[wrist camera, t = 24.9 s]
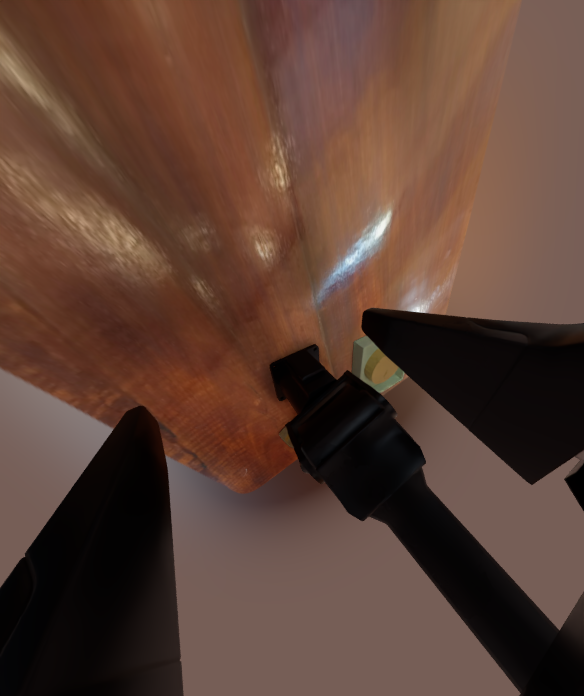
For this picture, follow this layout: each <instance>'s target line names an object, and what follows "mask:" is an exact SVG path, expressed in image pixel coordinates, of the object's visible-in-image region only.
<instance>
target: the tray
mask: <svg viewBox="0 0 584 696" xmlns="http://www.w3.org/2000/svg"><path fill="white" fill-rule="evenodd" d="M377 349H378V347H377V346H376V345H375V344H374V343H373V342H372V341H371V340H370V339H369V337H368V336H365V337H363V338H360V339H358V340H356V341H354V349H353V362H352V373H353V374H354V375H355V376H357V377H358V378H360V379H361V380H363V381H364V382H365V383H367V384H368V385H370V386H371V387H373V388H374V389H375V390H376V391H378V392H379V393H381V392H383V391H385V390H386V389H388V388H390V387H391V386H393V385H395V384H396V383H398V382H400V381H401V380H403V376H404V372H403V371H402V370H401V369H400V368H398V369H397V371H396V372H395V373H394V374H393V375H392V376H391V377H390V378H389V379H388V380H386V381H385V382H383V383H380V384H375V383H373V382H372V381H370V380H369V379H368V378H366V376H365V373H364V369H365V365H366V363H367V361H368V359H369V358H370V357H371V355H372V354H373V353H374V352H375V351H376V350H377Z"/></svg>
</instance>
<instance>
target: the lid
mask: <svg viewBox="0 0 584 696" xmlns="http://www.w3.org/2000/svg"><path fill="white" fill-rule="evenodd" d="M398 368H399V367H398V366H397V365H395V364H394V363H393V362H392V361H391V360H390V359H389V358H388V357H387V356H385V355H384V354H383V353H382V352H381V350H380V349H379V348H378V349H377V350H376V351H375V352H374V353H373V354H372V355H371V357H370V358H369V359H368V361H367V363H366V365H365V369H364V373H365V376H366V378H368V379H369V380H370V381H372V382H373V383H375V384H380V383H383V382H385V381H386V380H388V379H389V378H390V377H391V376H392V375H393V374H394V373H395V372H396V371H397V369H398Z"/></svg>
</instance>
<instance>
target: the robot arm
mask: <svg viewBox="0 0 584 696" xmlns="http://www.w3.org/2000/svg"><path fill="white" fill-rule="evenodd" d="M361 327H362V330H363V332H364V333H365V334H366V335H367V336H368V337H369V339H370V340H371V341H372V342H373V343H374V344H375V345H376V346H377V347H378V348H379V349H380V350H381V352H382V353H383V354H384V355H385V356H387V357H388V358H389V359H390V360H391V361H392V362H393V363H394V364H395V365H397V366H398V367H399V368H400V369H401V370H402V371H403V372H404V373H406V374H407V375H408V376H409V377H410V378H411V379H412V380H413V381H415V382H416V383H417V384H418V385H419V386H420V387H421V388H422V389H424V390H425V391H426V392H427V393H428V394H429V395H430V396H431V397H433V398H434V399H435V400H436V401H437V402H438V403H439V404H441V405H442V406H443V407H444V408H445V409H446V410H447V411H448V412H450V414H452V415H453V416H454V417H455V418H456V419H457V420H458V421H459V422H461V423H462V424H463V425H464V426H465V427H466V428H467V429H469V431H470V432H472V433H473V434H474V435H475V436H476V437H477V438H478V439H479V440H481V441H482V442H483V443H484V444H485V445H486V446H487V447H489V448H490V449H491V450H492V451H493V452H494V453H495V454H496V455H497V456H498V457H500V458H501V459H502V460H503V461H504V462H505V463H506V464H508V465H509V466H510V467H511V468H512V469H513V470H514V471H515V472H517V473H518V474H519V475H520V476H521V477H522V478H523V479H525V480H526V481H527V482H528V483H530V484H531V485H533V484H534V483H536V482H537V481H539V480H540V479H542V478H543V477H544V476H546V475H547V474H549V473H550V472H552V471H553V470H555V469H556V468H558V467H559V466H561V465H562V464H564V463H565V462H567V461H568V460H570V459H571V458H573V457H576V458H578V459H579V460H580V461H579V462H578V463H577V465H576V466H575V467H574V468H573V469H572V470H571V472H570V473H569V474H568V475H567V476H566V478H565V479H564V480H565V481H566V483H567V485H568V486H569V488H570V490H571V491H572V493H573V495H574V496H575V498H576V500H577V501H578V503H579V504H580V506H581V507H582V509H583V511H584V323H581V324H546V323H529V322H514V321H500V320H489V319H478V318H466V317H458V316H448V315H439V314H429V313H419V312H409V311H399V310H390V309H380V308H370V309H367V310H365V311H364V312H363V315H362V326H361ZM314 348H315V349H314ZM274 366H275V367H274ZM270 371H271V375H272V379H273V383H274V387H275V391H276V395H277V398H278V400H279V401H283V400H285V399H288V401H289V402H290V404H291V405H292V407H293V408H294V410H295V411H296V413H297V414H298V415H297V416H296V417H295V418H294V419H293V420H292V421H290V422H288V423H287V424H286V425H285V426H286V428H287V431H288V432H287V433H288V436H289V438H290V440H291V443H292V445H293V447H294V450H295V452H296V455H297V457H298V459H299V462H300V467H301V469H302V471H303V472H305V473H309V474H310V475H311V476H312V477H313V478H314V479H315V480H316V481H318V482H319V483H320V484H323V483H324V482H325V483H326V484H327V485H328V487H329V488H330V489H331V490H332V492H333V493H334V494H335V495H336V497H337V498H338V499H339V500H340V502H341V503H342V505H343V506H344V508H345V509H346V510H347V512H348V513H349V514H351V515H352V516H354V517H356V518H357V519H359V520H361V521H364V520H365V519H366V518H367V517H371V518H374V519H376V520H378V521H381V522H383V523H385V524H387V525H388V527H389V528H390V529H391V530H392V531H393V533H394V534H395V535H396V536H397V538H398V539H399V540H400V542H401V543H402V544H403V545H404V546H405V548H406V549H407V550H408V552H409V553H410V554H411V555H412V557H413V558H414V559H415V560H416V562H417V563H418V564H419V566H420V567H421V568H422V569H423V571H424V572H425V573H426V574H427V576H428V577H429V578H430V579H431V581H432V582H433V583H434V584H435V586H436V587H437V588H438V589H439V591H440V592H441V593H442V595H443V596H444V597H445V598H446V600H447V601H448V602H449V603H450V604H451V606H452V607H453V608H454V610H455V611H456V612H457V614H458V615H459V616H460V617H461V619H462V620H463V621H464V622H465V624H466V625H467V626H468V627H469V629H470V630H471V631H472V632H473V633H474V635H475V636H476V638H477V639H478V640H479V641H480V643H481V644H482V645H483V646H484V648H485V649H486V650H487V651H488V652H489V654H490V655H491V657H492V658H493V659H494V660H495V661H496V663H497V664H498V665H499V667H500V668H501V669H502V670H503V671H504V673H505V674H506V675H507V677H508V678H509V679H510V680H511V682H512V683H513V684H514V686H515V687H516V688H517V689H518V691H519V692H520V693H521V694H520V696H584V592H583V594H582V595H581V597H580V599H579V600H578V602H577V604H576V605H575V607H574V608H573V610H572V611H571V613H570V615H569V616H568V618H567V620H566V621H565V623H564V624H563V626H562V628H561V629H560V631H559V630H558V629H557V627H556V626H555V625H554V624H553V623H552V622H551V621H550V620H549V619H548V618H547V616H546V615H545V614H544V613H543V612H542V611H541V610H540V609H539V608H538V607H537V606H536V604H535V603H534V602H533V601H532V600H531V599H530V598H529V597H528V596H527V595H526V593H525V592H524V591H523V590H522V589H521V588H520V587H519V586H518V585H517V584H516V583H515V581H514V580H513V579H512V578H511V577H510V576H509V575H508V574H507V573H506V572H505V570H504V569H503V568H502V567H501V566H500V565H499V564H498V563H497V562H496V561H495V560H494V559H493V557H492V556H491V555H490V554H489V553H488V552H487V551H486V550H485V549H484V548H483V546H482V545H481V544H480V543H479V542H478V541H477V540H476V539H475V538H474V537H473V536H472V534H470V532H469V531H468V530H467V529H466V528H465V527H464V526H463V525H462V524H461V522H460V521H459V520H458V519H457V518H456V517H455V516H454V515H453V514H452V513H451V511H450V510H449V509H448V508H447V507H446V506H445V505H444V504H443V503H442V502H441V501H440V499H439V498H438V497H437V496H436V495H435V494H434V493H433V492H432V491H431V489H430V488H429V487H428V486H427V484H426V480H425V477H424V473H423V470H422V466H423V465H424V464H426V460H425V458H424V455H423V453H422V450H421V448H420V446H419V445H418V444H417V443H416V442H415V441H414V440H413V438H412V437H411V436H410V435H409V434H408V433H407V432H406V431H405V430H404V429H403V428H402V426H401V425H400V424H399V423H398V422H397V421H396V420H395V419H394V418H395V417H396V416H397V413H396V411H395V410H394V408H393V407H392V406H391V404H390V403H389V402H388V401H387V400H386V399H385V398H384V397H383V396H382V395H381V394H380V393H379V392H378V391H376V390H375V389H374V388H373V387H371V386H370V385H368V384H367V383H365V382H364V381H363V380H361V379H360V378H358V377H357V376H355V375H354V374H353V373H351V372H350V371H348V370H347V371H346V372H344V374H343V375H342V376H341V377H340V378H339V379H338V380H336V379H335V378H334V377H333V376H332V375H331V374H330V373H329V372H328V371H327V370H326V369H325V367H324V366H323V365H322V364H321V363H320V362H319V347H318V346H317V345H316V344H313V345H311V346H309V347H307V348H304V349H302V350H300V351H298V352H295V353H293V354H291V355H289V356H286V357H284V358H282V359H279V360H277V361H275V362H273V363H271V364H270ZM180 658H181V654H180V640H179V626H178V611H177V597H176V581H175V567H174V553H173V539H172V524H171V509H170V495H169V480H168V469H167V463H166V457H165V453H164V448H163V443H162V438H161V433H160V429H159V425H158V422H157V420H156V419H155V418H154V417H153V416H152V415H151V413H150V412H149V411H148V410H147V409H146V408H145V407H144V406H138V407H135V408H133V409H131V410H128V411H127V412H126V413H125V414H124V416H123V417H122V418H121V420H120V421H119V423H118V424H117V425H116V427H115V428H114V430H113V431H112V433H111V434H110V435H109V437H108V438H107V440H106V441H105V442H104V444H103V445H102V447H101V448H100V449H99V451H98V452H97V454H96V455H95V456H94V458H93V459H92V461H91V462H90V463H89V465H88V466H87V468H86V469H85V470H84V472H83V473H82V474H81V476H80V477H79V479H78V480H77V482H76V483H75V484H74V486H73V487H72V488H71V490H70V491H69V493H68V494H67V495H66V497H65V498H64V500H63V501H62V503H61V504H60V505H59V507H58V508H57V509H56V511H55V512H54V514H53V515H52V516H51V518H50V519H49V521H48V522H47V523H46V525H45V526H44V528H43V529H42V530H41V532H40V533H39V535H38V536H37V537H36V539H35V540H34V542H33V543H32V544H31V546H30V547H29V548H28V550H27V551H26V553H25V557H23V558H22V559H21V560H20V561H19V562H18V564H17V565H16V567H15V568H14V569H13V571H12V572H11V574H10V575H9V576H8V578H7V579H6V581H5V582H4V583H3V585H2V586H1V587H0V696H184V695H183V681H182V666H181V661H180Z"/></svg>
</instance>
